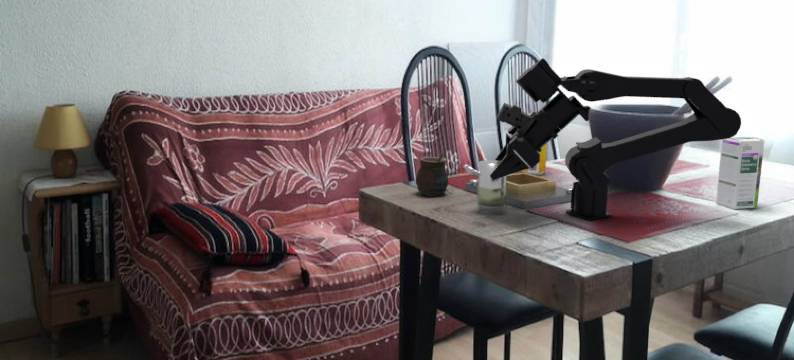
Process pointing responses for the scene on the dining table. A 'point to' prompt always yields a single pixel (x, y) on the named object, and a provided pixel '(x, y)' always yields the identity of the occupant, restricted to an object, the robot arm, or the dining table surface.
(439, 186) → the mate gourd
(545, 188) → the grey plate with frame
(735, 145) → the syrup box
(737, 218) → the dining table surface
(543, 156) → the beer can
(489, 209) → the glass mug
